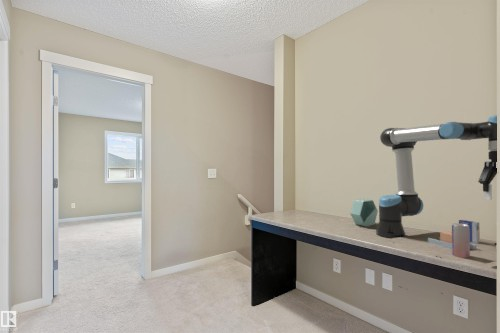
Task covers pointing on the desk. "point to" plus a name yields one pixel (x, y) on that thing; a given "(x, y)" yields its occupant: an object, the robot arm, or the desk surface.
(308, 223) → the desk surface
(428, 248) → the desk surface
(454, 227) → the beverage can
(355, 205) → the teal faceted polyhedron
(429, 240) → the chute
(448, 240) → the block
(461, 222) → the walkman
